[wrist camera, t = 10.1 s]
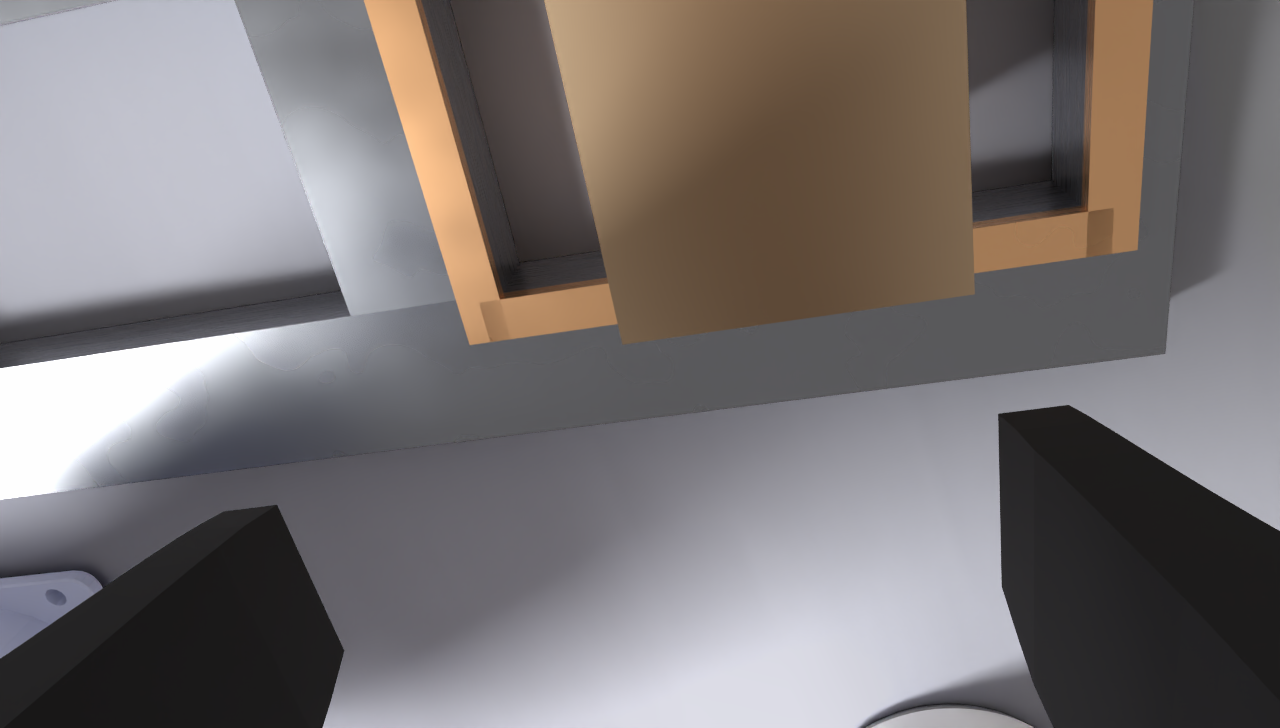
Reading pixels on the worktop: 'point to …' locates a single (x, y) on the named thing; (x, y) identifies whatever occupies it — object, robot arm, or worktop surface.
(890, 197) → the oak peg
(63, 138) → the worktop surface
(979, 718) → the can
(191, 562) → the robot arm
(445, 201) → the rail plate
